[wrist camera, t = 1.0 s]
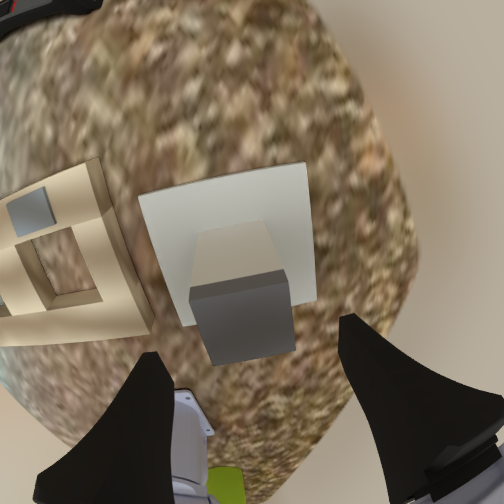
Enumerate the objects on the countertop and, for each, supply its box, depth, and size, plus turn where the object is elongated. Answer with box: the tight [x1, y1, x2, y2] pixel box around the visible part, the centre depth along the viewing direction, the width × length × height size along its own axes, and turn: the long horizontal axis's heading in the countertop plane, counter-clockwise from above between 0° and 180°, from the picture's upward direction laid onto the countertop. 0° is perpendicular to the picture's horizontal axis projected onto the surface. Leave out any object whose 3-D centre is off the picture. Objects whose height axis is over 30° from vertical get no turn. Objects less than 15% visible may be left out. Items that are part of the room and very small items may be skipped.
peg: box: [188, 219, 296, 366], centre depth 15 cm, size 4×4×7 cm
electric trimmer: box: [0, 0, 103, 40], centre depth 8 cm, size 4×16×3 cm, turn 84°
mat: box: [138, 161, 317, 327], centre depth 19 cm, size 10×10×1 cm
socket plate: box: [0, 157, 154, 346], centre depth 16 cm, size 12×20×2 cm, turn 99°
